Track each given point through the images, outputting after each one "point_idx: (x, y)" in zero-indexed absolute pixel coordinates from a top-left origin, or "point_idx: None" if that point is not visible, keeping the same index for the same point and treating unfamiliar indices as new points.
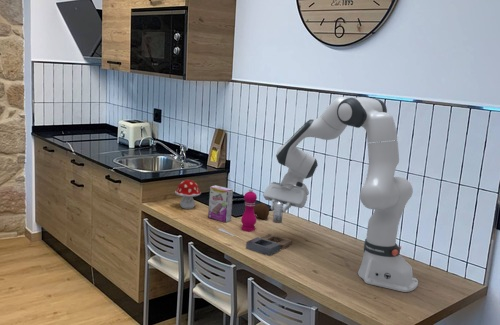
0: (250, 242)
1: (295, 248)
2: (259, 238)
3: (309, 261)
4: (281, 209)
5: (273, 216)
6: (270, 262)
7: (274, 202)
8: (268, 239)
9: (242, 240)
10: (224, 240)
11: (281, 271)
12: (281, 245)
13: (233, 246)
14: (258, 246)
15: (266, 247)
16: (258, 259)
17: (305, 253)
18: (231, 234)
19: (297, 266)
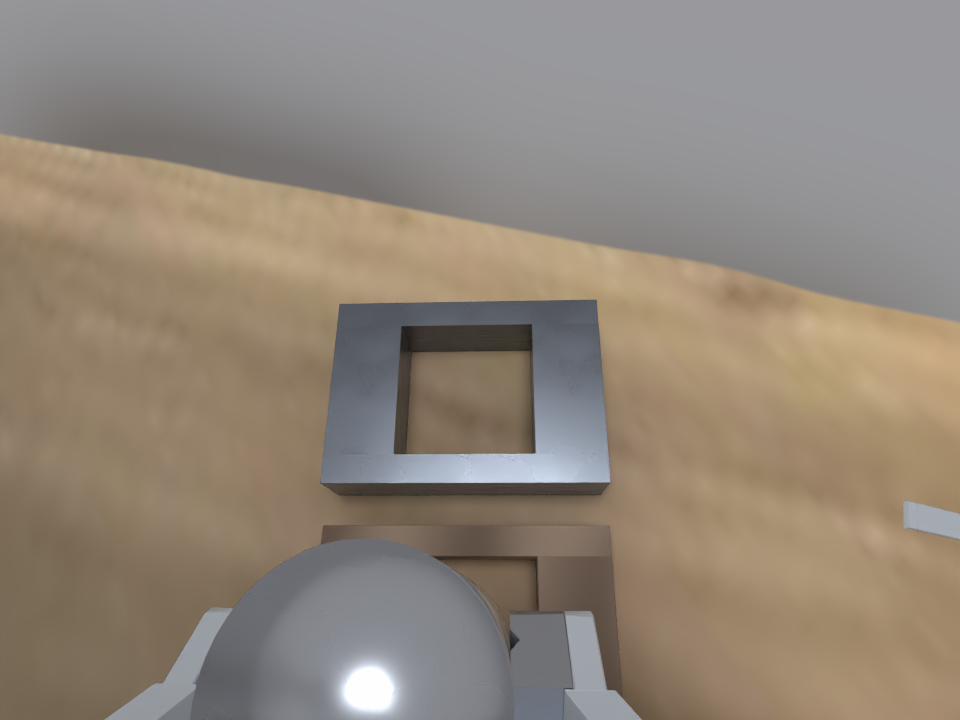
0: (559, 310)
1: None
2: (568, 462)
3: (35, 459)
4: None
5: (480, 588)
6: (291, 239)
7: (466, 582)
8: (538, 604)
9: (750, 466)
10: (849, 348)
11: (169, 176)
12: (334, 526)
13: (689, 294)
14: (462, 306)
15: (381, 310)
16: (386, 225)
17: (112, 612)
18: (953, 526)
19: (97, 309)
